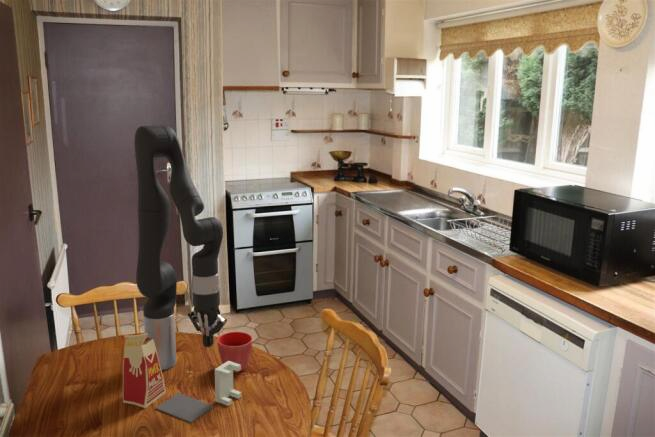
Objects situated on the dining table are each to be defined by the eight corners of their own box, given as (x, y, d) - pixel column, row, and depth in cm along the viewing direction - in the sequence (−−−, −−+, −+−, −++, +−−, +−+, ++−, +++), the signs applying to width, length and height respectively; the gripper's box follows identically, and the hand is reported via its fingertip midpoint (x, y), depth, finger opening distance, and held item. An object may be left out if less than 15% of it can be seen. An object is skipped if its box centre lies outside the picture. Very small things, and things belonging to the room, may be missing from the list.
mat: (155, 408, 158) (155, 407, 158) (178, 394, 165) (178, 392, 165) (191, 423, 152) (191, 421, 151) (213, 407, 159) (213, 405, 159)
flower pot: (246, 377, 176) (245, 347, 174) (212, 372, 178) (211, 344, 176) (257, 361, 186) (257, 333, 184) (225, 357, 188) (224, 329, 186)
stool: (215, 401, 162) (214, 369, 160) (229, 392, 167) (228, 360, 165) (228, 406, 160) (227, 373, 158) (241, 396, 165) (241, 364, 163)
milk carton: (166, 392, 166) (163, 328, 162) (146, 408, 158) (142, 341, 153) (139, 386, 169) (135, 323, 165) (118, 402, 161) (114, 336, 156)
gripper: (178, 288, 160) (181, 346, 164) (215, 297, 153) (217, 356, 157) (197, 280, 166) (199, 336, 170) (233, 288, 160) (235, 346, 164)
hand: (208, 346), depth 164 cm, fingers closed
